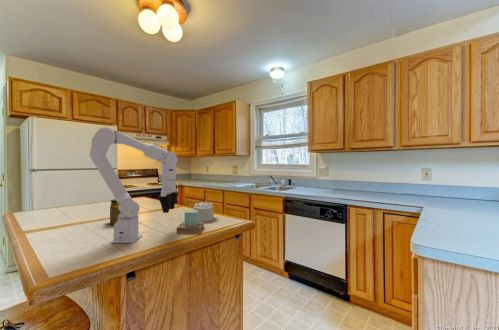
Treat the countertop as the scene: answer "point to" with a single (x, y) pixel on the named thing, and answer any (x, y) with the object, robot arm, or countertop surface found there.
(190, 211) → the teal block
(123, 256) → the countertop surface
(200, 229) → the walnut base
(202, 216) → the lumpy-topped squat cylinder
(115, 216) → the condiment
